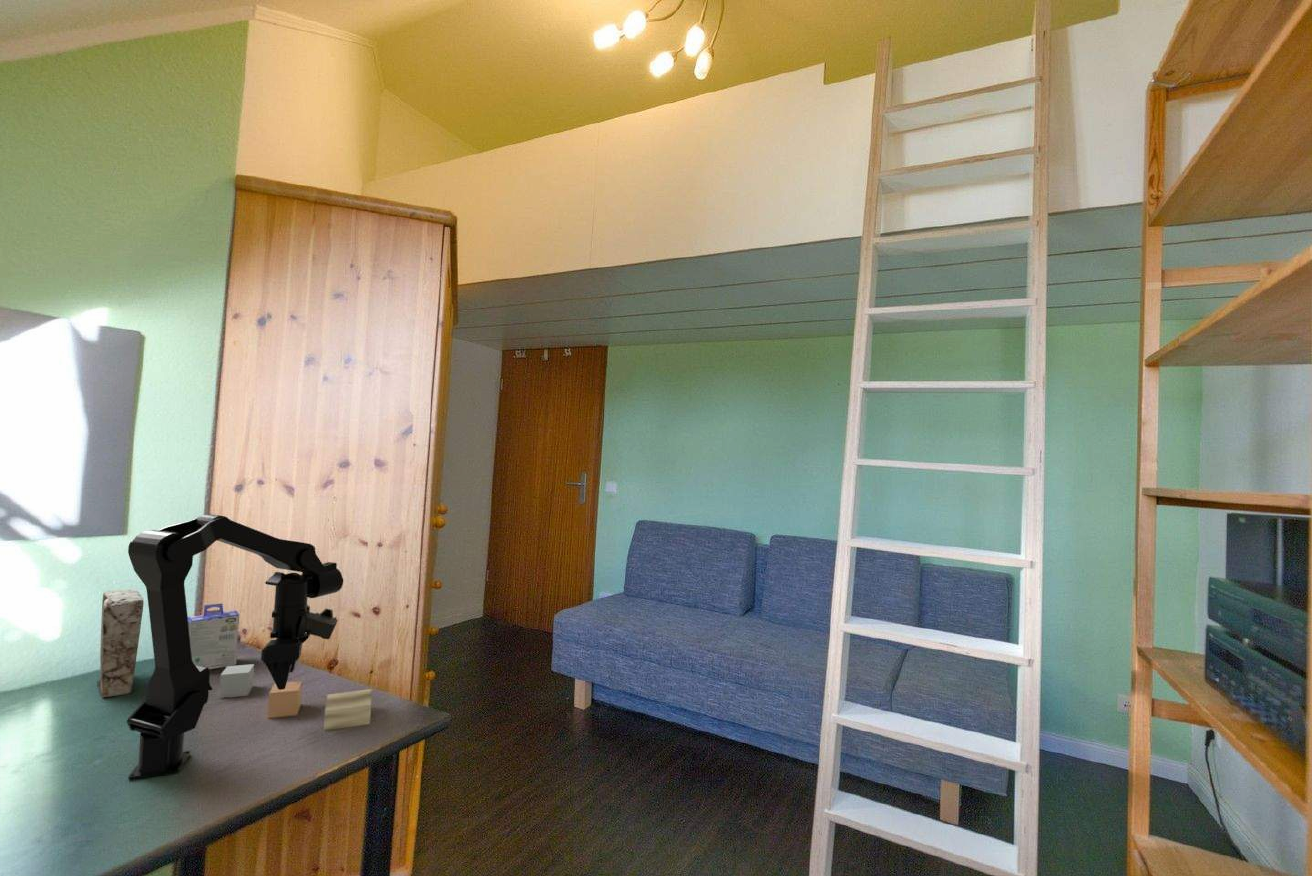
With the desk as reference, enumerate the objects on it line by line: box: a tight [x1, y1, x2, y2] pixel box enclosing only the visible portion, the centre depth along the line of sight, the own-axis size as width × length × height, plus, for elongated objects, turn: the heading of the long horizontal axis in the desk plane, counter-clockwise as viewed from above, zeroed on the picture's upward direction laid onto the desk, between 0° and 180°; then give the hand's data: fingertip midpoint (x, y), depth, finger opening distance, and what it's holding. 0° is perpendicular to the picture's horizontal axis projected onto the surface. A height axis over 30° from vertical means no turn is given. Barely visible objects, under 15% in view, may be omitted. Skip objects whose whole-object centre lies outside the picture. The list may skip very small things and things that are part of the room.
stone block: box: [96, 589, 145, 698], centre depth 125 cm, size 13×7×20 cm, turn 52°
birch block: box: [323, 688, 372, 731], centre depth 117 cm, size 8×8×4 cm
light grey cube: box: [218, 663, 255, 699], centre depth 126 cm, size 5×5×5 cm
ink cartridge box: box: [188, 603, 240, 671], centre depth 139 cm, size 10×6×14 cm, turn 133°
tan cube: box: [267, 680, 303, 719], centre depth 118 cm, size 5×5×5 cm
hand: (286, 680), depth 118 cm, fingers open, 9 cm apart
